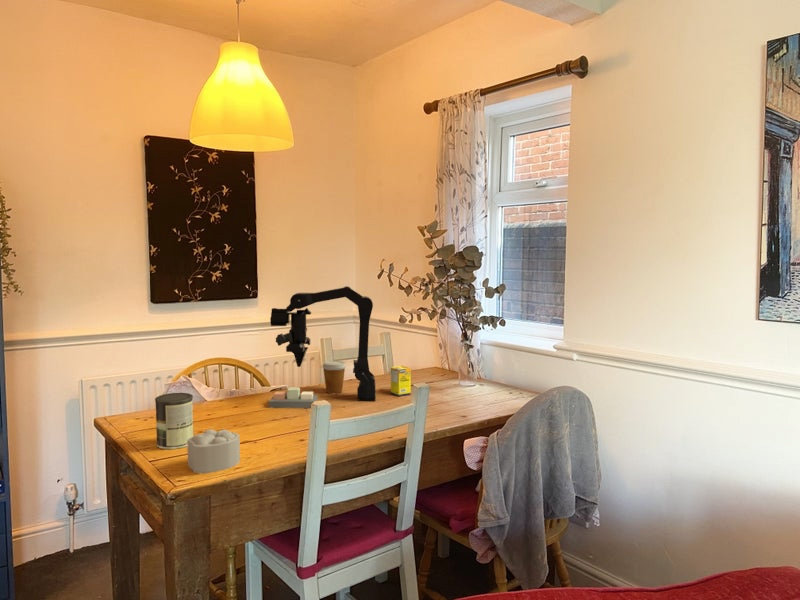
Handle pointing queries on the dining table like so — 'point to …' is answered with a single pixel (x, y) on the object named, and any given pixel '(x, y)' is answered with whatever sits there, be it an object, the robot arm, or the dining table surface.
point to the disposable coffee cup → (334, 376)
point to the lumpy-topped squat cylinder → (213, 451)
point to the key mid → (293, 393)
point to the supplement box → (400, 380)
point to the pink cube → (280, 395)
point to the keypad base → (291, 403)
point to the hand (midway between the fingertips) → (298, 366)
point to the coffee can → (174, 420)
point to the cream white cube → (307, 396)
